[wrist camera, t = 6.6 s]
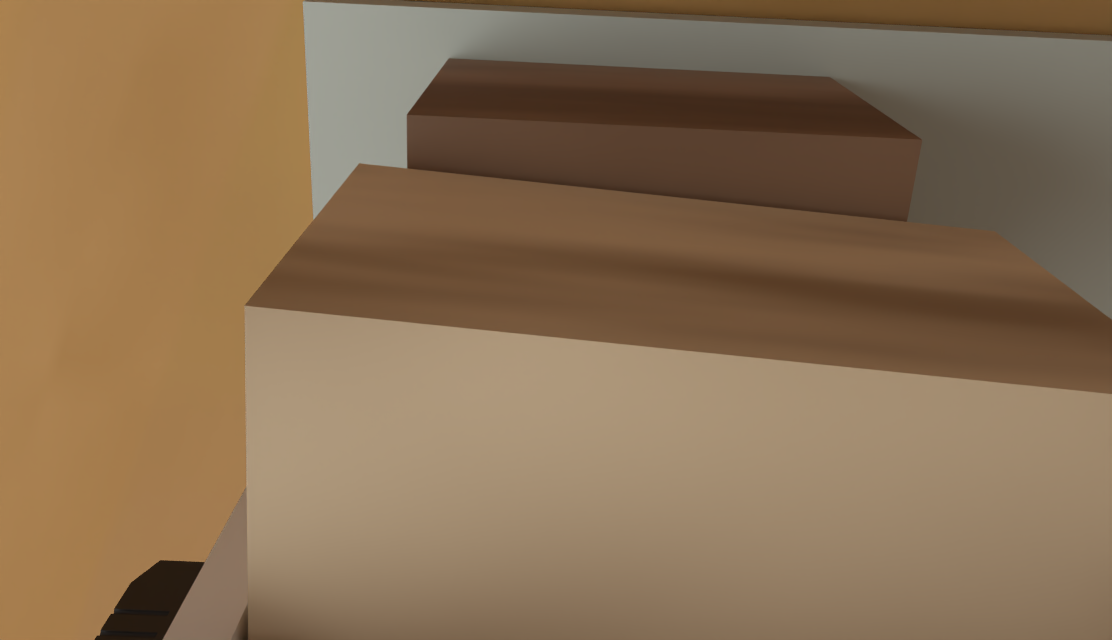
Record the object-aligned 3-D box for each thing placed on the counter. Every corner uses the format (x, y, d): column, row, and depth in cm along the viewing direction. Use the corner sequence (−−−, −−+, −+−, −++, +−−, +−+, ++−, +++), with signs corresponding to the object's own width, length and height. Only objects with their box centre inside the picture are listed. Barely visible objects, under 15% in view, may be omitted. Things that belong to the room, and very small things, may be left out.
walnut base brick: (448, 58, 21) (406, 114, 16) (829, 77, 21) (923, 139, 16) (446, 538, 26) (412, 713, 20) (758, 553, 26) (811, 731, 20)
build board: (316, -4, 22) (303, 1, 21) (1326, 46, 22) (1366, 53, 21) (338, 507, 27) (328, 533, 26) (1161, 544, 27) (1186, 572, 26)
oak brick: (358, 162, 16) (244, 305, 10) (994, 231, 16) (1225, 405, 10) (341, 673, 19) (252, 982, 14) (855, 720, 20) (970, 1040, 14)
